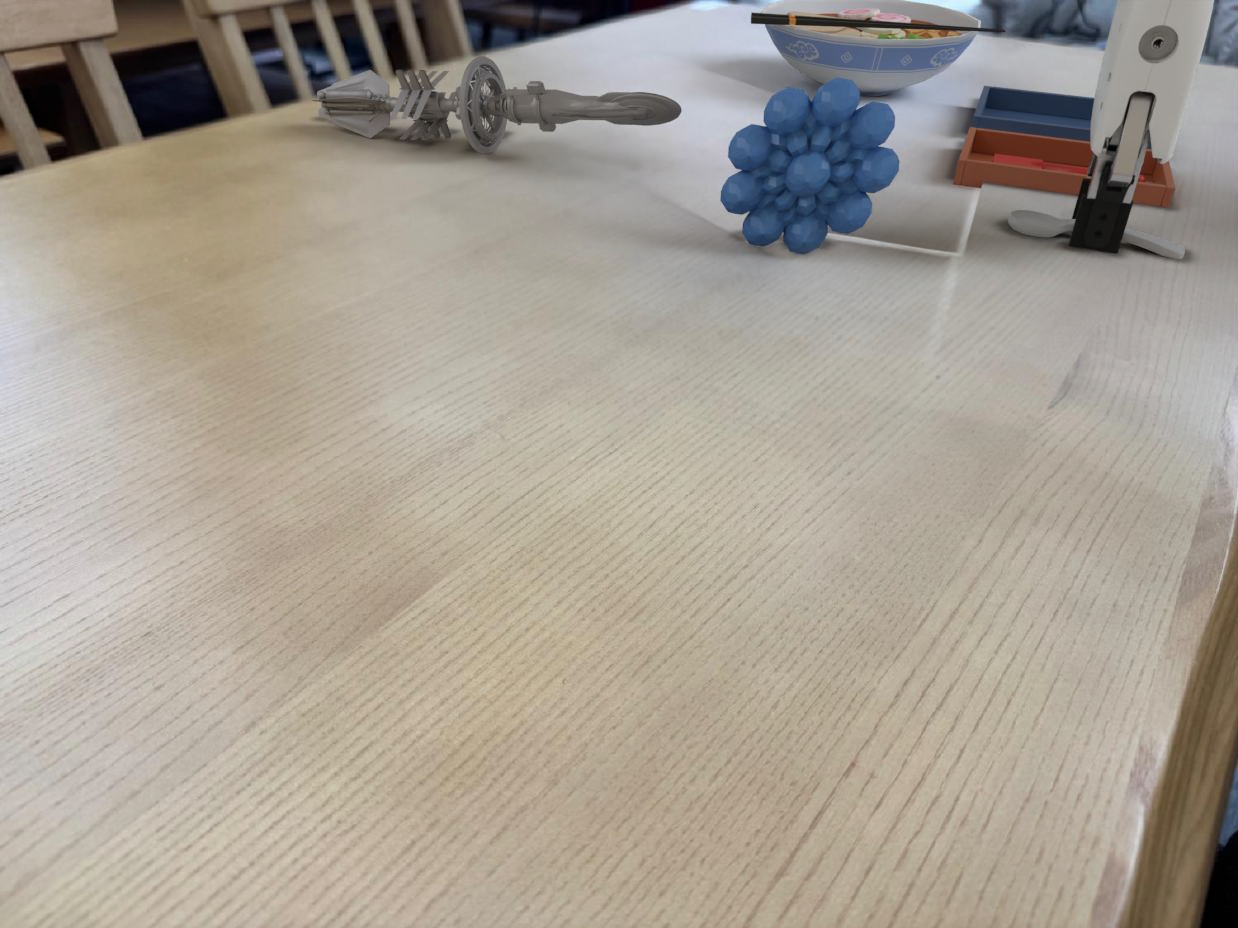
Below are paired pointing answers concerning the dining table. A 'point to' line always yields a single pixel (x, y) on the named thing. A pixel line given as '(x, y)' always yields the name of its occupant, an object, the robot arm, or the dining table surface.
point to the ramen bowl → (868, 40)
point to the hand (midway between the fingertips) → (1092, 242)
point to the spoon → (1053, 226)
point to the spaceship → (479, 105)
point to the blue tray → (1035, 113)
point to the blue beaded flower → (810, 166)
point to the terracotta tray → (1050, 150)
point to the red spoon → (1043, 164)
